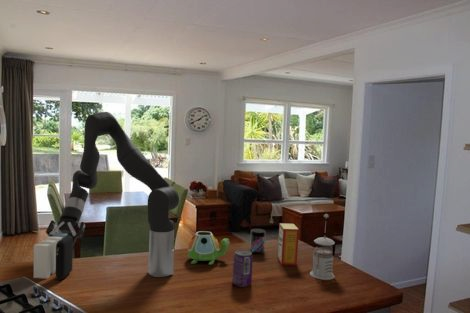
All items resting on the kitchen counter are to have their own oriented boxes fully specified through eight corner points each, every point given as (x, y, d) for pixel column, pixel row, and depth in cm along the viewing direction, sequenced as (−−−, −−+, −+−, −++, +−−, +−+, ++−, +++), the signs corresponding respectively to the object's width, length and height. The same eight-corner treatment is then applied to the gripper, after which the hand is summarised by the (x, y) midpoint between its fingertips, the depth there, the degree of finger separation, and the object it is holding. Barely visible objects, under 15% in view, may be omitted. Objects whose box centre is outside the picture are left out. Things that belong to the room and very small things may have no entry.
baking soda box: (277, 257, 170) (279, 222, 169) (291, 257, 171) (293, 222, 170) (281, 264, 161) (283, 228, 160) (296, 265, 161) (298, 228, 160)
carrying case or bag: (61, 283, 132) (61, 242, 131) (52, 283, 132) (52, 242, 131) (73, 271, 143) (74, 233, 142) (65, 271, 143) (66, 233, 142)
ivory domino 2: (49, 266, 147) (49, 236, 146) (61, 267, 147) (62, 237, 146) (46, 268, 145) (46, 237, 144) (59, 269, 145) (59, 238, 144)
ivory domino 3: (43, 270, 142) (43, 239, 141) (56, 271, 142) (56, 240, 141) (40, 272, 140) (40, 241, 139) (53, 273, 140) (54, 242, 139)
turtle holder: (231, 265, 158) (232, 237, 157) (188, 265, 155) (189, 237, 154) (226, 254, 170) (228, 229, 169) (186, 255, 167) (187, 229, 166)
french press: (339, 275, 152) (343, 214, 150) (324, 283, 144) (329, 219, 142) (317, 268, 159) (321, 210, 157) (302, 275, 150) (306, 213, 148)
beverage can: (253, 282, 142) (255, 251, 141) (248, 289, 135) (249, 256, 134) (235, 278, 144) (237, 248, 143) (229, 285, 137) (231, 253, 136)
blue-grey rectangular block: (54, 262, 151) (55, 233, 150) (67, 262, 151) (67, 233, 150) (52, 264, 149) (52, 234, 148) (65, 264, 149) (65, 235, 148)
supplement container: (246, 252, 174) (248, 230, 174) (255, 249, 180) (256, 227, 179) (259, 256, 170) (260, 233, 170) (267, 252, 176) (268, 230, 175)
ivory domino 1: (36, 275, 138) (36, 243, 137) (50, 276, 138) (50, 244, 137) (33, 277, 136) (33, 245, 135) (47, 278, 136) (47, 246, 135)
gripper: (53, 204, 157) (38, 240, 147) (87, 206, 157) (74, 241, 146) (59, 214, 163) (45, 248, 152) (92, 216, 163) (80, 250, 152)
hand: (59, 245), depth 149 cm, fingers open, 8 cm apart
